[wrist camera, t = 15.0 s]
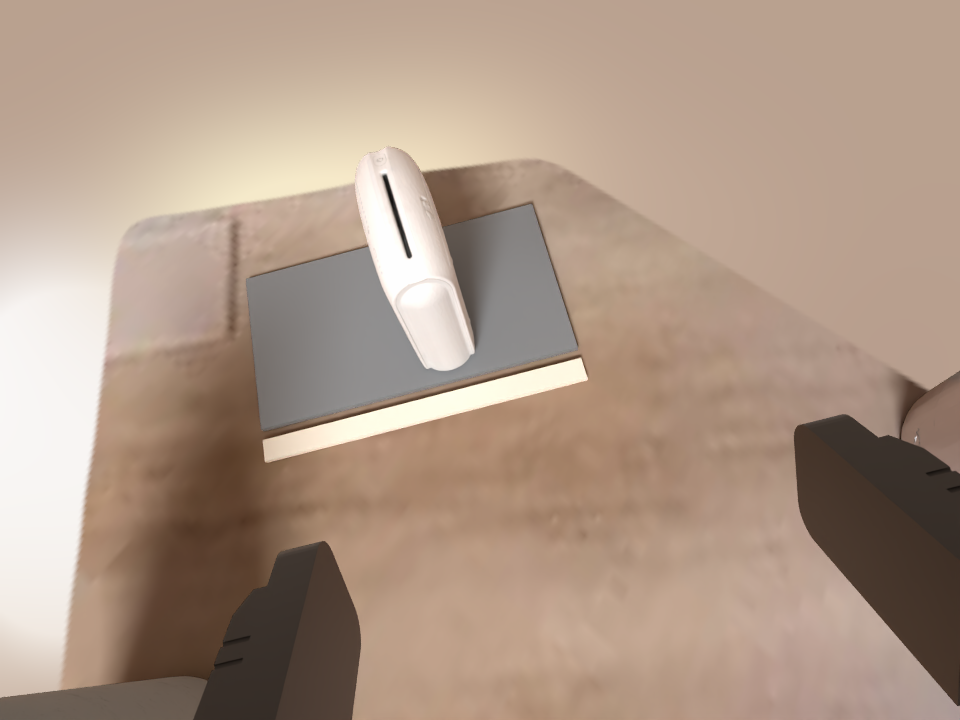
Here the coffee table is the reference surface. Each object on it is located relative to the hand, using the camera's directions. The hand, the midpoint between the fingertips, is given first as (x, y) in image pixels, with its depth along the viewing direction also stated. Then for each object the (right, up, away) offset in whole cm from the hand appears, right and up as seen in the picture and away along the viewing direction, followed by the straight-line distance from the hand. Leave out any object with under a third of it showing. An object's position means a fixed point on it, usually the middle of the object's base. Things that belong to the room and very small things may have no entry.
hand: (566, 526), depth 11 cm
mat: (-7, +5, +36) cm, 37 cm away
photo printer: (-5, +6, +36) cm, 36 cm away
